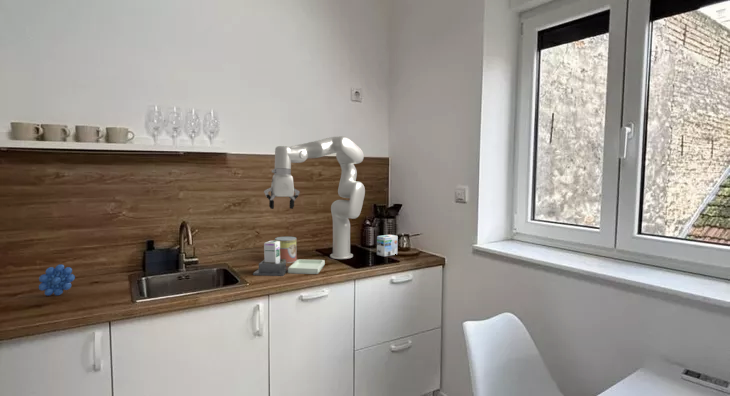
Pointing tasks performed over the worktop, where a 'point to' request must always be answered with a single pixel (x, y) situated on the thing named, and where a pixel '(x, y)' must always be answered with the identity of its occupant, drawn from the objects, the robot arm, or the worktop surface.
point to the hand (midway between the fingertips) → (281, 208)
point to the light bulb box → (387, 245)
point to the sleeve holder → (272, 268)
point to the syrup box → (272, 252)
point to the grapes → (56, 280)
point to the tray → (306, 266)
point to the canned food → (287, 248)
